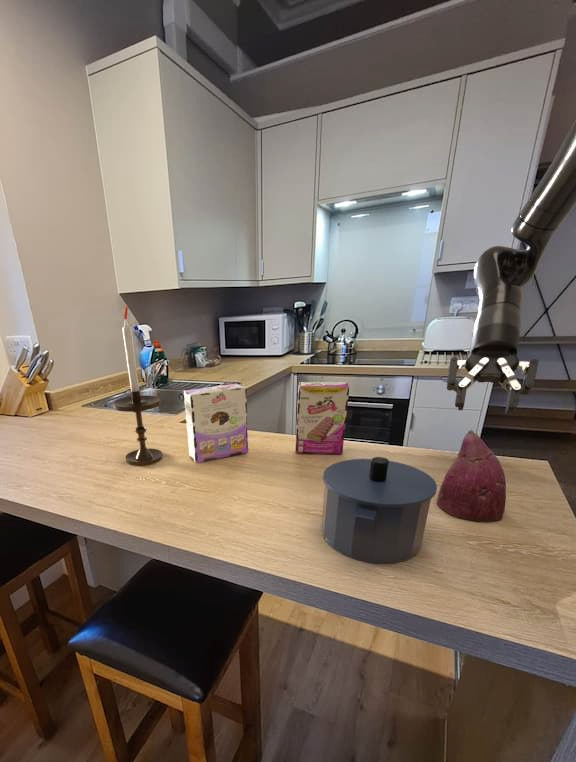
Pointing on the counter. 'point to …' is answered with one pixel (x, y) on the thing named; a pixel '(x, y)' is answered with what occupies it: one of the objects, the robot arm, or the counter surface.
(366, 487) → the pot lid
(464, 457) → the vegetable
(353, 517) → the pot
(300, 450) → the candy bar box
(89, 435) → the counter surface
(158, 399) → the candlestick
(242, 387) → the candy box
